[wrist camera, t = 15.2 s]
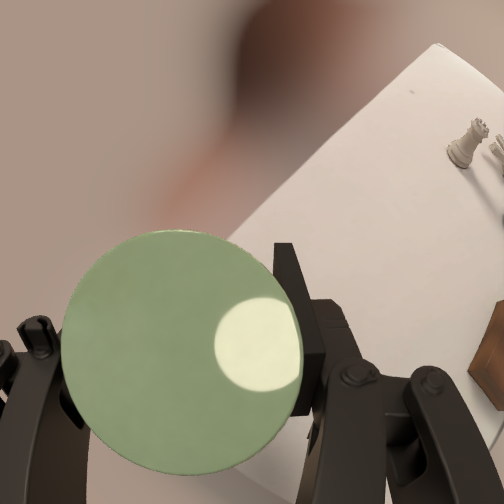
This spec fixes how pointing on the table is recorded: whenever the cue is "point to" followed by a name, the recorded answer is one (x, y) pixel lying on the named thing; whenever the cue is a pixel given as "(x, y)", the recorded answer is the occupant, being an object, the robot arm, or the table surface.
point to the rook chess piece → (468, 144)
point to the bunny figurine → (498, 149)
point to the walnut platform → (491, 359)
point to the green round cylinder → (182, 352)
